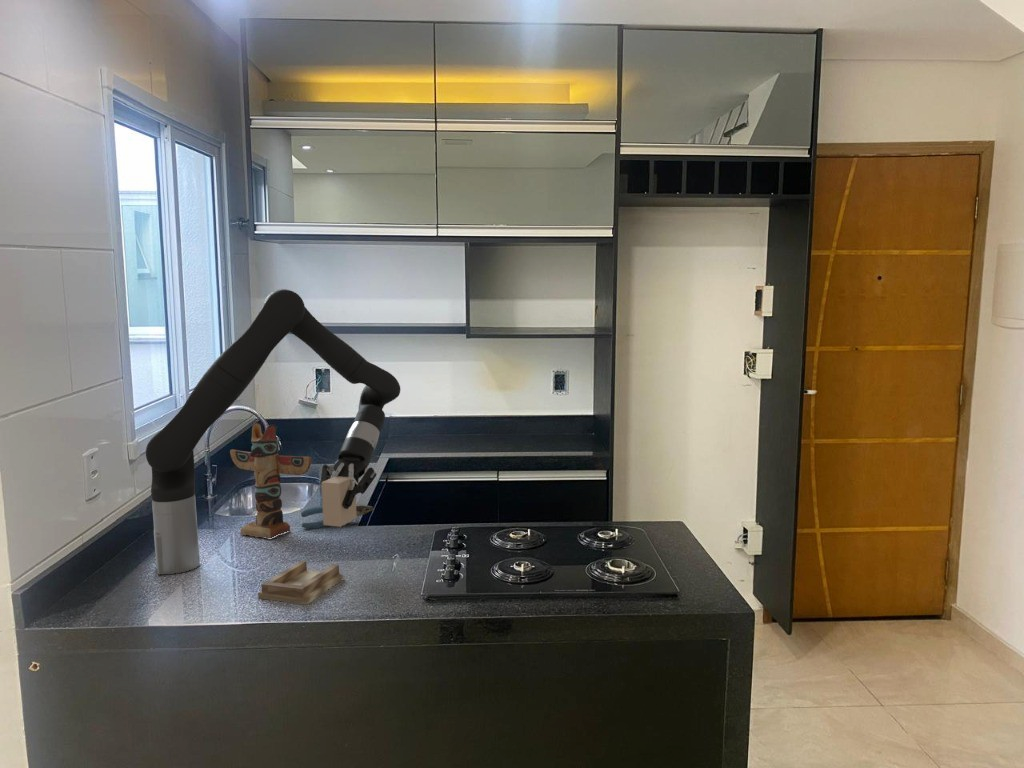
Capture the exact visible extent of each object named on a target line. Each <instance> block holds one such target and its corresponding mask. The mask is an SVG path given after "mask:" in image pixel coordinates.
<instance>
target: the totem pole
mask: <svg viewBox="0 0 1024 768" xmlns="http://www.w3.org/2000/svg"><path fill="white" fill-rule="evenodd" d="M277 429H278V427H277V425H276V424H269V425H268V426H267V427H265V429H264V432H263V433H262V427H261V424H260V423H257V422H256V423H253V425H252V427H251V439H250V443H251V444H252V445H251V448H250V449H251V451H244V450H240V449H239V450H238V449H233V448H232V449H230V450H229V453H230V458H231V460H232V462H233V464H234V465H235V466H236V467H237V468H238V469H242V470H246V471H252V472H253V471H254V472H253V473H254V478H255V480H254V482H255V484H254V488H255V491H254V498H255V509H256V511H257V512H256V516H255V521H252V522H250V523H247V524H245V525H243V526H242V527H241V528H240V535H241V534H243V535H242V536H246V535H251V536H250V537H252V536H257V537H256V538H258V537H266V538H272V537H274V536H276V535H278V534H281V533H284V532H287V531H290V532H291V525H290V524H289V523H288V522H287V521H284V515H283V514H284V513H283V511H282V507H283V500H282V499H281V498H280V497H281V495H282V485H281V474H282V475H290V476H292V475H293V476H301V475H305V474H306V473H308V472H309V470H310V469H311V465H312V457H311V456H302V455H301V456H299V455H297V456H294V455H280V454H279V442H278V438H277V437H278V436H277V434H276V432H277Z"/></svg>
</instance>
